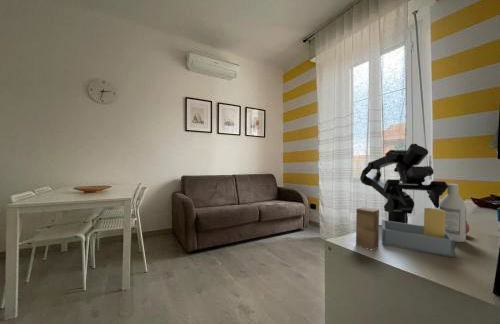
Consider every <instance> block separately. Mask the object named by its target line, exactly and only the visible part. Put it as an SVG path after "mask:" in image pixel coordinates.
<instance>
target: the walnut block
mask: <svg viewBox="0 0 500 324" xmlns="http://www.w3.org/2000/svg"><path fill="white" fill-rule="evenodd" d="M355 224H356V225H355V229H356V230H355V234H356V235H355V246H358V247H360V246H361V247H360V248H363V247H364V249H367V248H368V249H367V250H370V249H372V250H371V251H374V250H375V249H377V248H379V241H380V240H379V239H380V237H379V234H380V233H379V232H380V231H379V230H380V229H379V228H380V209H376V208H371V207H366V206H362V207H361V206H360V207H358V208H356V223H355ZM376 247H377V248H376ZM374 248H375V249H374ZM373 249H374V250H373Z"/></svg>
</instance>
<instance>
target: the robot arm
mask: <svg viewBox="0 0 500 324" xmlns="http://www.w3.org/2000/svg"><path fill="white" fill-rule="evenodd" d="M428 155H429V150H428V149H427V148H425V147H424V146H421V145H418V144H417V143H411V144H410V145H409V147H408V149H389V150H388V151H387V152H386V153H385V155H384V156H381V157H380V158H377V159H375V160H372V161H370V162H369V161H368V163H367V166H366V167H365V168H364V169H363V170H362V172H361V174H360V176H359V180H360V182H361V184H363V185H365V186H368V187H371V188H372V189H374V190H375V191H377V192H378V193H379V194H380V195H381V196H382V197H383V198H385V199H386V200H387V201H386V203H385V204H384V205H383V209H384V212H388V215H387V216H388V217H387V221H393V222H400V223H407V224H409V223H408V222H409V220H408V219H409V217H408V214H410V215H411V214H412V213H413V210H414V208H415V201H414V200H413V198H412V197H411V195H410V194H408V193H407V192H405V191H406V190H408V191H425V192H426V193H427V194H428V198H429V200H430V201H431V203H432V204H433V206H434V207H435V209H438V208H440V197H441V196H442V195H443V194H444V192H446V191H447V188H448V185H447V184H448V183H447V182H446V181H441V180H431V182H430V183H429V184H423V183H425V181H426V180H425V178H427V177H431V176H433V174H434V169H433V167H432V166H429V165H425V166H419V165H420V164H421V163H422V162H423V160H424V159H425V158H426V157H427V156H428ZM392 165H395V168H394V169H393V172H395V173H398V176H399V179H390V178H389V179H387V180H386V181H385V182H383V181H382V180H381V178H382V177H381V176H382V173H381V169H382V168H385V167H388V166H392ZM372 170H376V173H373V172H371V171H372ZM370 172H371V173H370ZM404 190H405V191H404Z"/></svg>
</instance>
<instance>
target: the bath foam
mask: <svg viewBox="0 0 500 324" xmlns="http://www.w3.org/2000/svg"><path fill="white" fill-rule="evenodd" d="M447 185H448V188H447V189H446V194H445V195H444V197H442V199H441V200H440V201H439V209H440V210H444V211H445V231H446V232H447V233H448V234H449V235H450V236H451V237H452V238H453V239H454V240H455V243H465V242H466V240H467V239H466V235H467V233H466V221H467V206H466V203H465V201H464V200H463V198H462V197H461V196H460V194H459V191H460V190H459V187H460V185H459V184H458V183H447Z"/></svg>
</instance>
